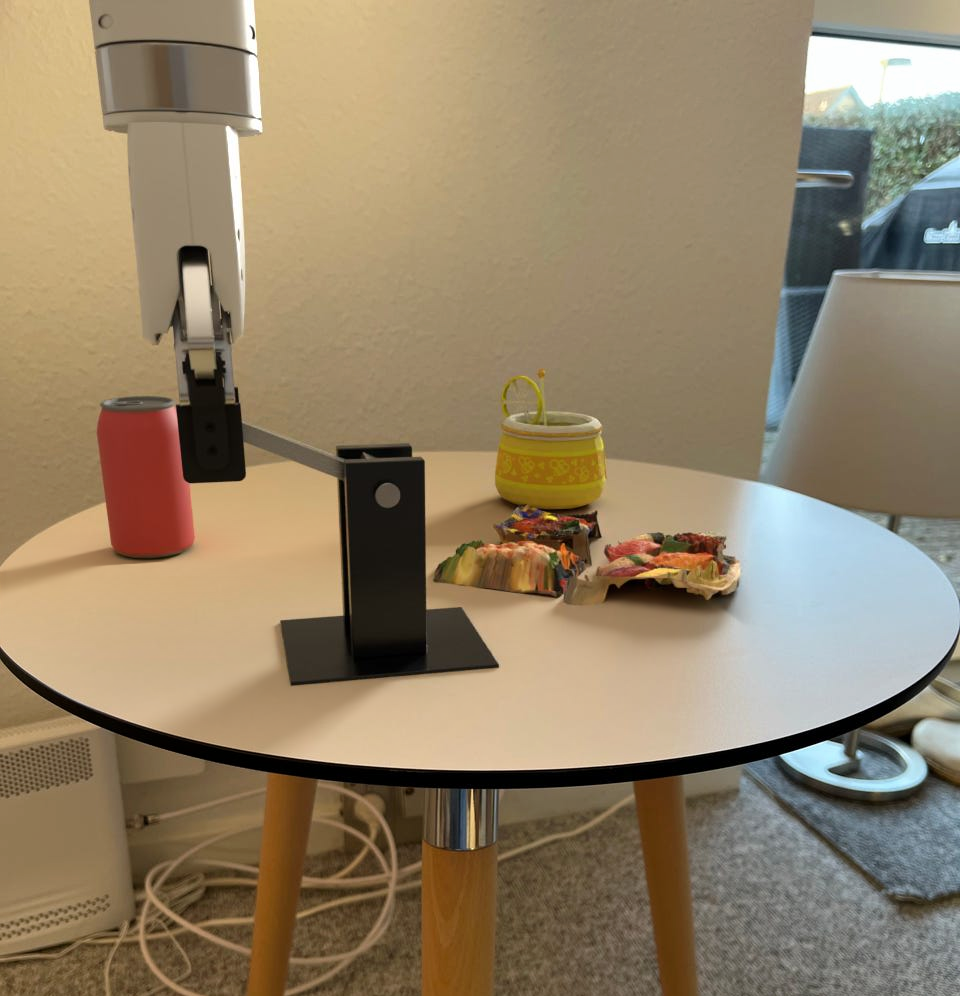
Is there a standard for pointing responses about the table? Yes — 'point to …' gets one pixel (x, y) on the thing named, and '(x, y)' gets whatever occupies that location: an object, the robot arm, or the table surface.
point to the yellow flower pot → (548, 454)
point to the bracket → (382, 584)
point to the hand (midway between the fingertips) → (215, 465)
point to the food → (587, 559)
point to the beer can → (144, 477)
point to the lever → (295, 450)
